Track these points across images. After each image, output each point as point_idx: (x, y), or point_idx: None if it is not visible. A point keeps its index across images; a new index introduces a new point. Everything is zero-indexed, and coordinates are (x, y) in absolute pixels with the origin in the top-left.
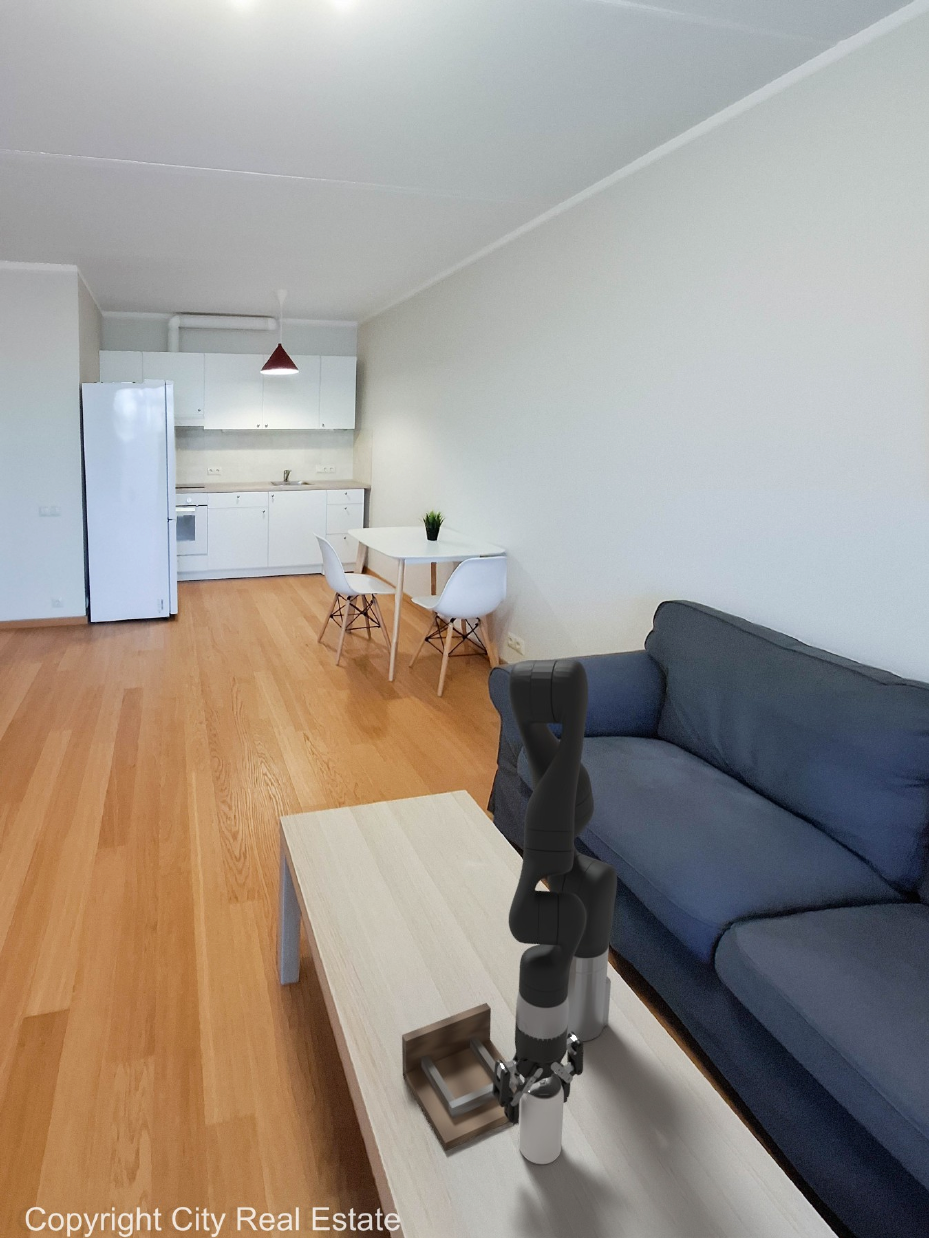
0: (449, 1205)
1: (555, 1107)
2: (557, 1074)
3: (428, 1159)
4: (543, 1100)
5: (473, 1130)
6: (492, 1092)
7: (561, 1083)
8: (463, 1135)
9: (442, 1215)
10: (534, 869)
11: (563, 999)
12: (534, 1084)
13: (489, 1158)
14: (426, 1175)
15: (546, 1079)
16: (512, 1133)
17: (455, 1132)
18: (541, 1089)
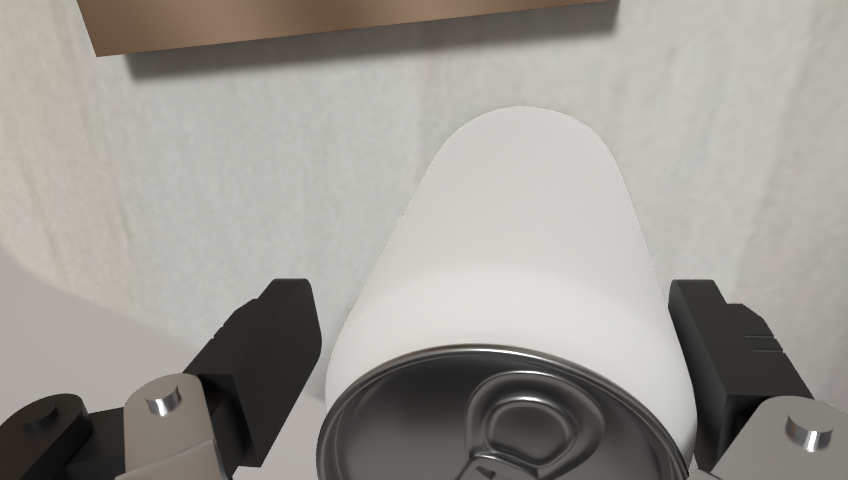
0: (124, 255)
1: None
2: (732, 401)
3: (59, 60)
4: None
5: (235, 40)
6: (11, 419)
7: (707, 440)
8: (185, 46)
9: (100, 272)
10: None
11: None
12: (426, 449)
13: (297, 158)
14: (51, 123)
15: (563, 460)
16: (437, 87)
17: (147, 19)
18: None
